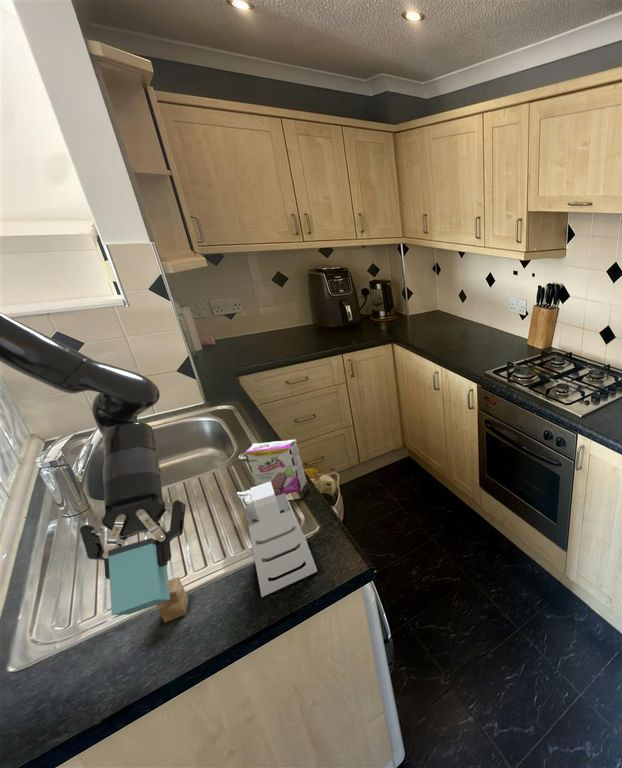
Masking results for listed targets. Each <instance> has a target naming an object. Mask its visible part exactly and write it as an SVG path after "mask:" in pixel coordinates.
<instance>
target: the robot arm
mask: <svg viewBox="0 0 622 768" xmlns="http://www.w3.org/2000/svg"><path fill="white" fill-rule="evenodd" d="M0 363H2V364H3V365H5V366H7V367H9V368H11V369H12V370H14V371H16V372H18V373H21V374H22V375H24V376H27V377H28V378H30V379H32V380H35V381H37V382H39V383H42V384H44V385H47V386H49V387H51V388H52V389H56V390H58V391H60V392H63V393H66V394H71V395H74V394H78V393H79V394H80V393H82V392H83V393H84V392H89V391H90V392H96V393H97V394H96V395H95V397H94V398H93V401H92V405H91V412H92V416H93V419H94V421H95V423H96V426H97V428H98V431H99V433H100V434H101V436H102V438H103V458H104V459H103V461H104V462H103V468H102V479H103V480H102V481H103V498H104V499H103V501H104V510H105V511H104V512H105V513H104V515H103V517H102V519H101V520H100V521H98V522H95V523H92V524H90V525H88V524H83V525H82V526H80V529H79V532H80V535H81V538H82V542H83V546H84V549H85V552H86V555H87V558H88V559H90V560H95V561H103V563H104V564H103V566H104V577H105V579H106V580H110V575H109V557H108V551H109V550H112V549H116V548H119V547H122V546H126V544H127V541H128V539H129V538H132V537H134V536H136V535H138V534H145V533H148V532H150V533H151V535H152V536H153V537H154V539H156V540H157V541H158V544H156V550H157V561H158V566H161V567H163V566H166V565H167V566H168V562H170V561H171V559H172V550H171V542H172V541H173V540H174V539H175V538H177V537H181V536H182V534H183V532H184V524H185V517H186V515H185V514H186V503H185V502H183V501H181V500H179V499H177V500H174V501H173V502H164V499H163V491H162V480H161V479H162V478H161V471H162V470H161V467H160V462H159V458H158V455H157V446H156V439H155V432H154V429H153V427H152V426H151V425H150V424H149V423H146V422H142V421H138V416H139V415H140V414H142V413H144V412H145V411H147V410H149V409H150V408H152V407H153V406H155V405H156V404H157V403H158V401H160V397H161V396H160V395H161V393H160V390H159V388H158V386H157V384H155V382H153V381H152V380H151V379H149V378H148V377H146V376H144V375H142V374H141V373H137V372H134V371H131V370H128V369H125V368H122V367H118V366H115V365H112V364H108V363H105V362H101V361H97V360H94V359H92V358H91V357H89V356H87V355H85V354H83V353H82V352H79V351H77V350H75V349H73V348H71V347H70V346H68V345H66V344H64V343H62V342H60V341H58V340H56V339H54V338H52V337H50V336H48V335H46V334H44V333H42V332H40V331H38V330H36V329H33V328H32V327H30V326H27V325H26V324H23V323H22V322H19V321H18V320H16V319H13V318H12V317H11V316H10V317H9V316H8V315H6V314H4V313H2V312H0ZM166 511H167V513H168V514H170V516H171V517H170V524H169V530H167V531H166V529H165V527H164V526H163V525H162V524H161V523H160V520H161V518H162V517H163V515H164V514H165V512H166ZM105 528H107V529H109V530H110V534H109V536H108V538H107V541H106V543H107V544H106V546H105V549H104V547H103V544H102V540H101V538H100V536H101V535H103V530H104V529H105Z"/></svg>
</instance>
